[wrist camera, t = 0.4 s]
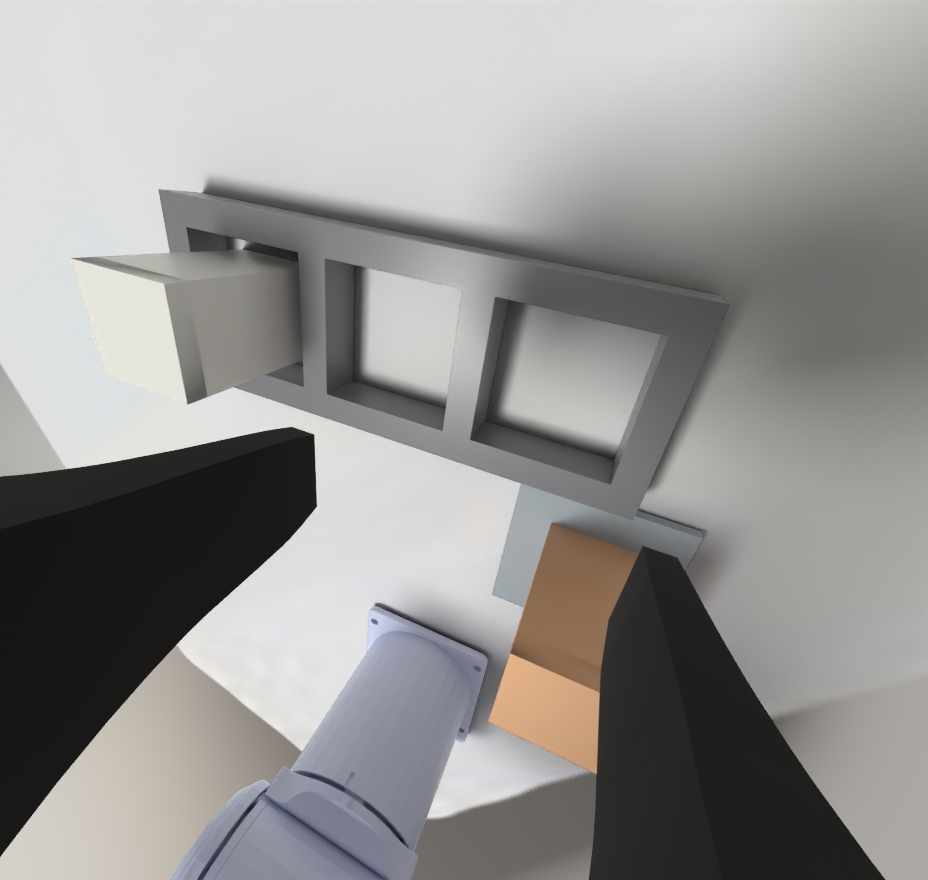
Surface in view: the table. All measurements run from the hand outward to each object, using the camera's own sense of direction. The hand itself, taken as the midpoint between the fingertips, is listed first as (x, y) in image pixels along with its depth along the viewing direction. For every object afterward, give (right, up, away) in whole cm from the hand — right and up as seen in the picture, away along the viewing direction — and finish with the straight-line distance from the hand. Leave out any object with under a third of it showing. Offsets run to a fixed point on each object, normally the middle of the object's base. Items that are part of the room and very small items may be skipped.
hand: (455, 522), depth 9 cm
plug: (+6, -4, +11) cm, 13 cm away
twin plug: (-8, +8, +11) cm, 16 cm away
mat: (+6, -4, +11) cm, 13 cm away
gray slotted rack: (-2, +6, +9) cm, 11 cm away
